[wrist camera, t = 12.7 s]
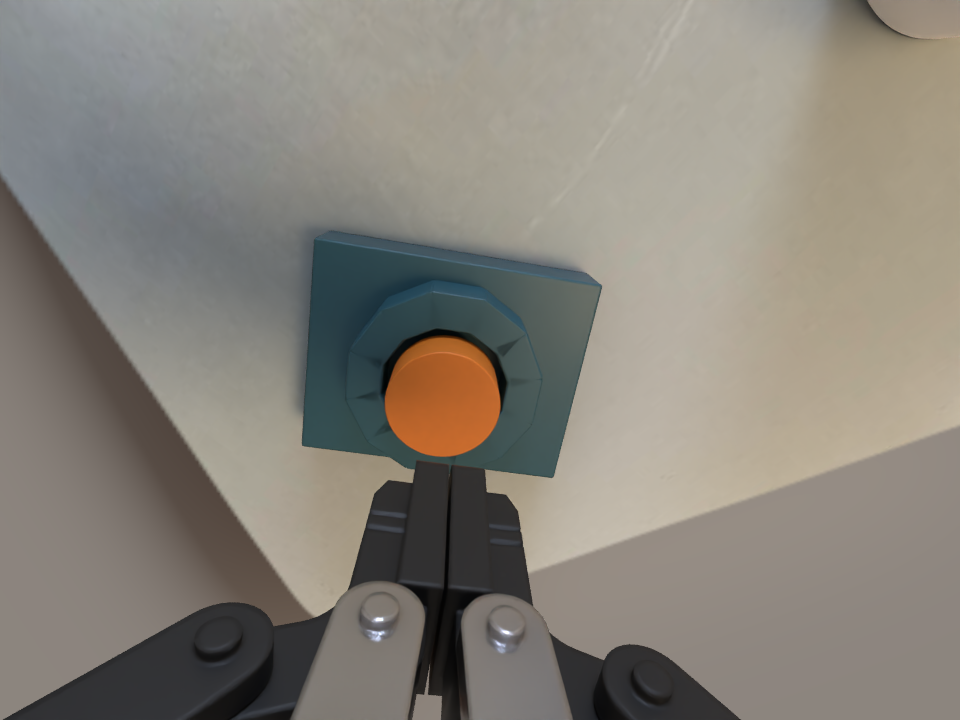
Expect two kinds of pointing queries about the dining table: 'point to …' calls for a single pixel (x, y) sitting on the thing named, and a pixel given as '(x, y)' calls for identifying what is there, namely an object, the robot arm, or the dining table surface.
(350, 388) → the button block
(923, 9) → the cup
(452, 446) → the push button
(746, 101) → the dining table surface
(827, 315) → the dining table surface
